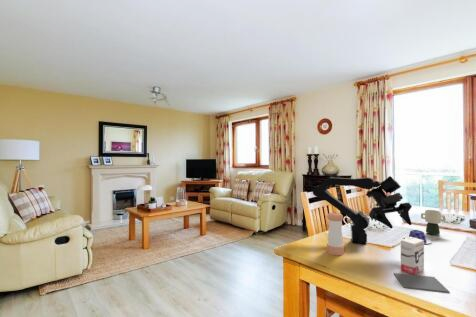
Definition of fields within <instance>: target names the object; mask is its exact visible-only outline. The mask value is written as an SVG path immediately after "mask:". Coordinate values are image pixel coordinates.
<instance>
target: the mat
mask: <svg viewBox="0 0 476 317" xmlns="http://www.w3.org/2000/svg"><path fill="white" fill-rule="evenodd" d="M393 274H394V276H395V277H396V279H397V280H398V282H399V283H400V285H401V286H402V287H403V288H404V289H412V290H413V289H414V290H421V291H431V292H437V291H439V292H438V293H447V294H448V293H449V294H450V290H448V289H447V287H445V286H444V285H443V284H442V282H440V281H439V280H438V279H437V278H436V277H435V276H431V275H430V276H429V275H418V274H415V275H413V274H410V273H400V272H393Z"/></svg>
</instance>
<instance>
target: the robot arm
mask: <svg viewBox="0 0 476 317" xmlns="http://www.w3.org/2000/svg"><path fill="white" fill-rule="evenodd" d="M332 185H337V186H348V187H349V186H350V187H356V188H358V189H359V188H360V189H363V190H367V191H366V194H365V196H366V197H368V198H372V199H373V200H374V201H375V206H376V207H372V208H371V210H370V211H369V213H368V214H369V215H367V214H365V213H363V212H362V211H361V210H359V211H358V212H357V211H355V210H354V209H352V208H351V207H349V206H348V205H346V204H345V203H343V202H342V201H341V200H339V199H338V198H336V197H335V196H334V195H333V194H331V193H330V191H329V190H328V189H329V188H331V186H332ZM401 187H402V186H401V185H400V184H399V182H397V181H396V180H395V179H394V178H393V177H392V176H391V175H390V176H388V177H386V179H384V180H383V181H379V180H378V181H377V180H375V179H374V178H373V177H369V176H368V177H358V178H349V177H347V178H345V177H334V176H330V177H327V178H326V179H325V180H324V181H323V182H321V183H320V184H319V185H316V186H314V187H313V188H312V194H313V196H315V197H316V198H319V199H321V200H323V201H325V202H327V203H329V205H331V206H333V207H334V208H335V209H337V210H338V211H340V212H341V214H344V215H345V216H346V217H347V218H349V219H350V221H351V222H352V226H351V227H350V229H351V234H350V235H351V238H350V240H351V242H352V244H359V245H368V244H367V242H368V234H367V231H366V229H367V228H368V227H369V225H370V223H371V222H370V219H371V220H374V221H377V222H380V223H381V224H383V225H385V226H386V227H389V228H390V229H393V227H394V226H393V224H392V223H391V222H390V220H389V219H388V217H387V216H386V214H389V213H396V212H397V214H399V217H400V218H402V220H404V222H405V223H406V224H408V225H409V226H412V220H411V217H410V213H409V212H410V211H411V209H412V207H413V206H412V205H411V204H410V202H403V203H402V202H401V200H403V199H404V197H403V195H402V194H401V193H400V192H396V191H397V190H398V189H401ZM393 193H394V194H393ZM387 194H390V195H387ZM398 202H401V203H399V205H398V206H397V204H398ZM369 218H370V219H369Z"/></svg>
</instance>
